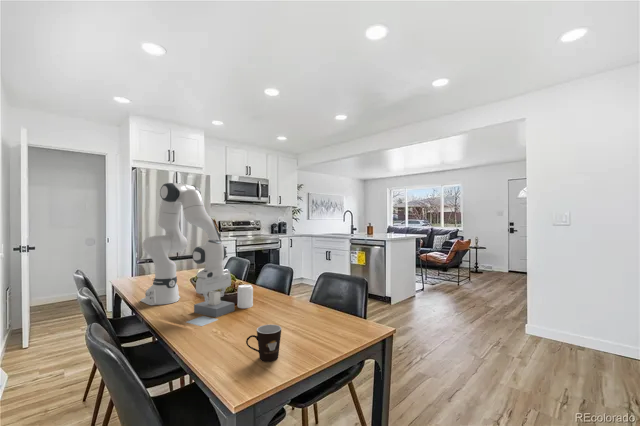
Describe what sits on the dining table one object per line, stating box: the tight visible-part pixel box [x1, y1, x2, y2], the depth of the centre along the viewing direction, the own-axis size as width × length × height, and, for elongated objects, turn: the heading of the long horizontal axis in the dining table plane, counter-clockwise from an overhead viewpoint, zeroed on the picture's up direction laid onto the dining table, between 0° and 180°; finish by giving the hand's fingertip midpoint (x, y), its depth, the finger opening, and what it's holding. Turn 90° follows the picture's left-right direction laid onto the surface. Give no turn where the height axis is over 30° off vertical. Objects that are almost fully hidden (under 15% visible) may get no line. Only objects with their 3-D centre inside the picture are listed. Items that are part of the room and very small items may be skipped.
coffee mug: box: [245, 324, 282, 363], centre depth 104 cm, size 12×9×10 cm
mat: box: [185, 315, 219, 327], centre depth 139 cm, size 11×10×1 cm
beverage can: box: [237, 284, 254, 309], centre depth 163 cm, size 8×8×12 cm
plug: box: [208, 290, 221, 305], centre depth 153 cm, size 4×4×10 cm
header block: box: [193, 299, 235, 318], centre depth 153 cm, size 16×12×5 cm
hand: (214, 298), depth 153 cm, fingers open, 8 cm apart
